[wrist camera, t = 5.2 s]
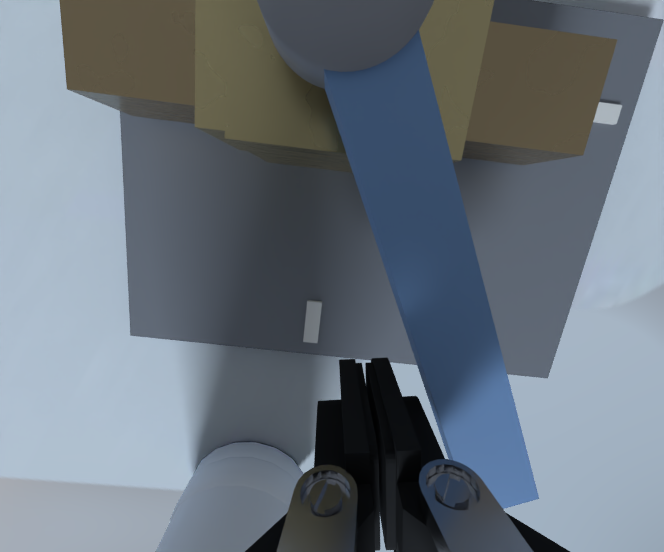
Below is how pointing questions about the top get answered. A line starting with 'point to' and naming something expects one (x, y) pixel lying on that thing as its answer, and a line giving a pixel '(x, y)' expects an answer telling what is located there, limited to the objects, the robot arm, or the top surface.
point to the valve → (311, 101)
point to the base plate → (363, 229)
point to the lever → (414, 216)
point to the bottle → (232, 499)
